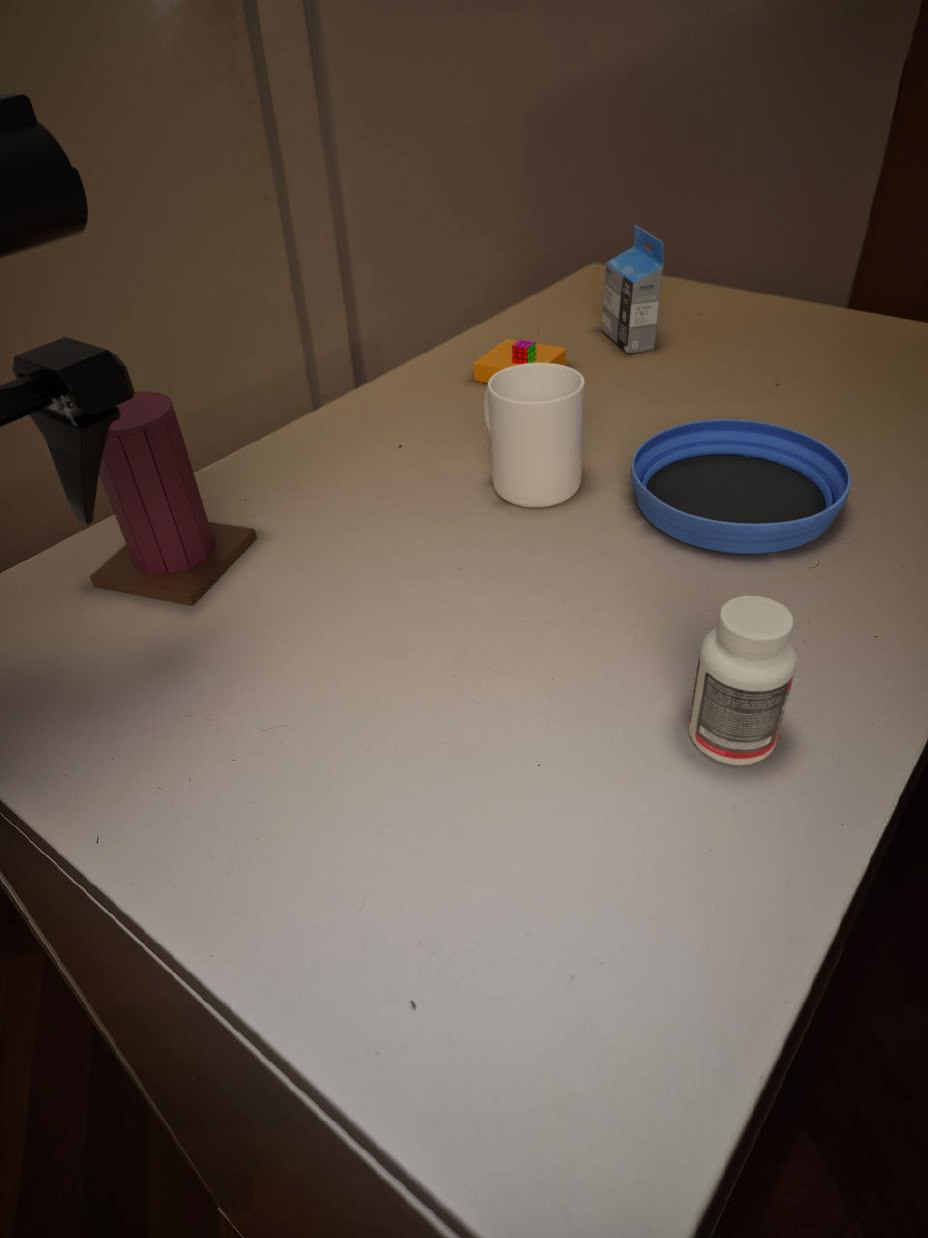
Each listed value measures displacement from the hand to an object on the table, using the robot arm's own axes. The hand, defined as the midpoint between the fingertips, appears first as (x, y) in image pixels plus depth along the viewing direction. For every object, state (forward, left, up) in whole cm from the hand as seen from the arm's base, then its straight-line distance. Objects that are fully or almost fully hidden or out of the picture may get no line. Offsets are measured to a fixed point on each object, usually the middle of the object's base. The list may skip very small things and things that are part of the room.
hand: (19, 558), depth 50 cm
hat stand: (+15, +10, -13) cm, 22 cm away
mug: (+42, -8, -13) cm, 45 cm away
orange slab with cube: (+62, +6, -13) cm, 64 cm away
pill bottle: (+22, -37, -13) cm, 45 cm away
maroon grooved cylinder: (+15, +10, -12) cm, 22 cm away
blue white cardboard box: (+77, 0, -13) cm, 78 cm away
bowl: (+48, -26, -13) cm, 56 cm away
